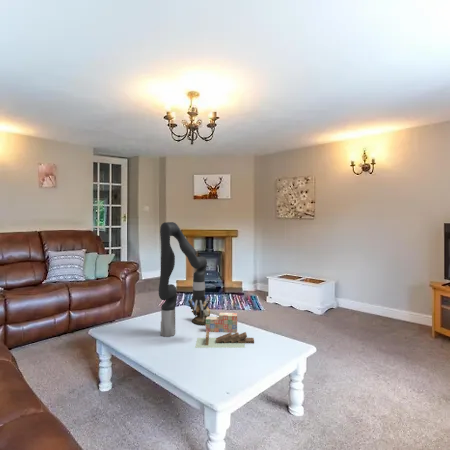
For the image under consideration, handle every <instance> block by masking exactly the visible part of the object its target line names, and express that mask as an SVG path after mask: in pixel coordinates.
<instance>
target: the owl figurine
mask: <svg viewBox="0 0 450 450" xmlns="http://www.w3.org/2000/svg"><path fill="white" fill-rule="evenodd" d="M193 303H194V302H193ZM205 305H206V301H205V302H204V303H203V307H205ZM193 306H195V303H194V305H193ZM201 310H202V309H201V305H197V307H196V316H194V318H192V320H191V322H192V323H193V324H195V325H197V326H202V327H203V326H205V327H206V318H207V317H211V316H210V315H211V309H210V308H209V306H207V308H206V310H204V314H203V315H202V316H201ZM191 313H192V314H193V315H194V310H193V309H192V311H191Z"/></svg>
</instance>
